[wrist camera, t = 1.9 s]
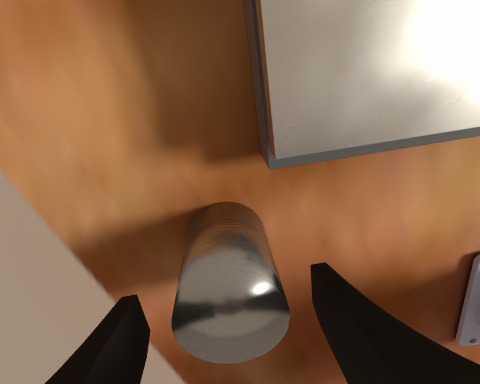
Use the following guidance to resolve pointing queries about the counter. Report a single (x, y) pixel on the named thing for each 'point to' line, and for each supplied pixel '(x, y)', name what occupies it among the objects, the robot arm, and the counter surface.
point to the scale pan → (367, 71)
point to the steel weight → (228, 288)
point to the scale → (327, 155)
